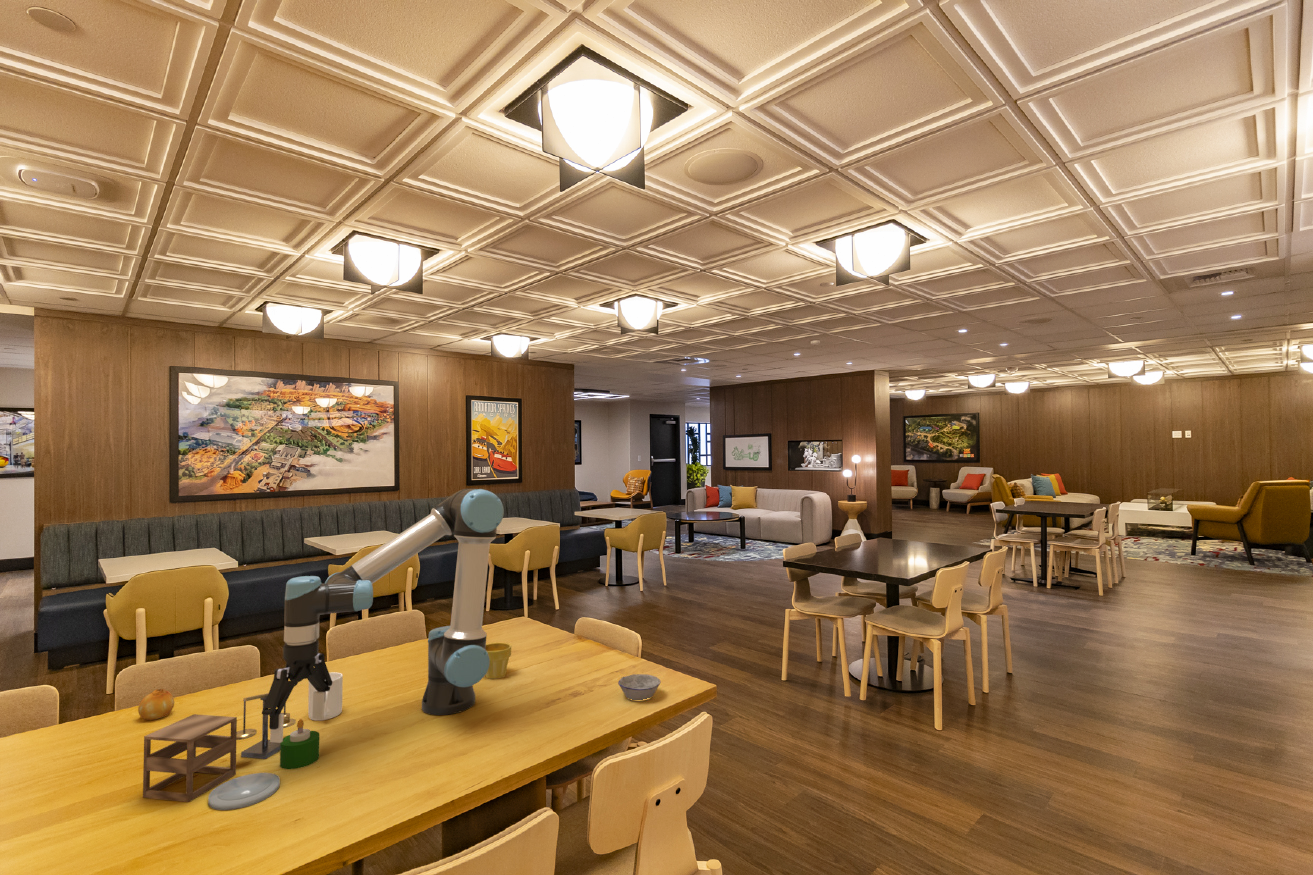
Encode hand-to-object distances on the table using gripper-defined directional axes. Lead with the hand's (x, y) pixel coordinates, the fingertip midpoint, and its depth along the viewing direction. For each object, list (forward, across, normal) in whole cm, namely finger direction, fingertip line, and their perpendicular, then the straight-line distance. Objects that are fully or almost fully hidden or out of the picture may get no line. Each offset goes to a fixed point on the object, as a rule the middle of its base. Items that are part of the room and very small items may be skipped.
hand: (298, 729), depth 149 cm
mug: (+8, -24, -12) cm, 28 cm away
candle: (+8, 0, 0) cm, 8 cm away
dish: (+8, +15, -1) cm, 17 cm away
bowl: (+6, -52, +74) cm, 91 cm away
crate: (+8, +14, -16) cm, 22 cm away
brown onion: (+8, -17, -61) cm, 64 cm away
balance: (+8, -3, -12) cm, 15 cm away
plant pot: (+7, -63, +22) cm, 68 cm away
